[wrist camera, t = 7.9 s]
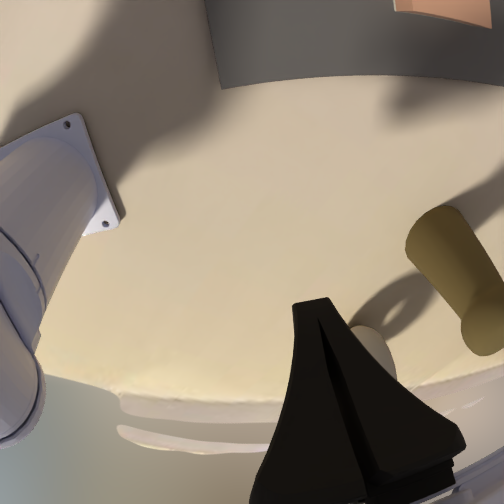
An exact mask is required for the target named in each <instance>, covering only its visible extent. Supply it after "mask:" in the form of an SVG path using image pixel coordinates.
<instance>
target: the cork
mask: <svg viewBox="0 0 504 504" xmlns="http://www.w3.org/2000/svg"><path fill="white" fill-rule="evenodd" d="M405 251H406V254H407V257H408V258H409V259H410V261H411V262H412V263H413V264H414V265H415V266H416V267H417V268H418V269H419V270H420V272H421V273H422V274H423V275H424V276H425V277H426V278H427V279H428V281H429V282H430V283H431V284H432V285H433V286H434V287H435V289H436V290H437V291H438V292H439V293H440V294H441V296H442V297H443V298H444V299H445V300H446V302H447V303H448V304H449V305H450V306H451V308H452V309H453V310H454V311H455V313H456V314H457V315H458V316H459V317H460V319H461V333H462V337H463V340H464V342H465V344H466V345H467V347H468V348H469V349H470V350H471V351H472V352H473V353H474V354H476V355H479V356H488V355H491V354H494V353H496V352H498V351H499V350H501V349H502V348H504V282H503V280H502V278H501V276H500V275H499V273H498V271H497V269H496V268H495V266H494V264H493V263H492V261H491V259H490V257H489V256H488V254H487V253H486V251H485V249H484V248H483V246H482V245H481V243H480V241H479V240H478V238H477V237H476V235H475V234H474V232H473V231H472V229H471V228H470V226H469V225H468V223H467V222H466V220H465V219H464V217H463V216H462V215H461V213H460V212H459V210H457V209H456V208H454V207H452V206H445V205H444V206H440V207H436V208H434V209H432V210H430V211H428V212H426V213H425V214H424V215H423V216H422V217H421V218H420V219H418V220H417V221H416V223H415V224H414V226H413V227H412V229H411V230H410V232H409V234H408V237H407V240H406V247H405Z"/></svg>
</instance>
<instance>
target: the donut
mask: <svg viewBox="0 0 504 504" xmlns="http://www.w3.org/2000/svg"><path fill="white" fill-rule="evenodd" d="M351 331H352V332H353V333H354V334H355V336H356V337H357V338H358V339H359V341H360V342H361V343H362V344H363V346H364V347H365V348H366V349H367V350H368V351H369V353H370V354H371V355H372V356H373V357H374V358H375V359H376V360H377V361H378V362H379V364H380V365H381V366H382V367H383V368H384V369H385V370H386V371H387V372H388V373H389V374H390V375H391V376H393V377H394V378H395V379H396V380H397V375H396V369H395V364H394V361H393V358H392V355H391V352H390V350H389V348H388V346H387V344H386V342H385V340H384V338H383V337H382V336H381V335H380V334H379V333H378V332H377V331H376V330H374V329H373V328H370V327H366V326H363V325H360V326H355V327H352V328H351Z"/></svg>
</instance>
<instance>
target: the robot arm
mask: <svg viewBox="0 0 504 504" xmlns="http://www.w3.org/2000/svg"><path fill="white" fill-rule="evenodd" d="M66 121H68V122H70V125H71V126H70V127H67V126H66ZM104 221H107V222H108V223H109V224H106V223H104ZM119 224H120V217H119V215H118V212H117V210H116V207H115V205H114V202H113V200H112V197H111V195H110V192H109V190H108V187H107V185H106V182H105V179H104V177H103V174H102V171H101V169H100V166H99V163H98V161H97V158H96V155H95V152H94V149H93V146H92V144H91V141H90V138H89V135H88V132H87V129H86V126H85V123H84V119H83V117H82V115H81V114H79V113H73V114H70V115H68V116H66V117H63V118H61V119H58V120H56V121H54V122H52V123H49V124H47V125H45V126H43V127H41V128H38V129H36V130H34V131H32V132H30V133H28V134H26V135H24V136H22V137H20V138H18V139H16V140H14V141H12V142H10V143H8V144H6V145H5V146H3V147H1V148H0V449H3V448H7V447H10V446H13V445H15V444H16V443H19V442H20V441H21V440H23V439H24V438H25V437H27V435H28V434H29V433H30V432H31V431H32V430H33V429H34V427H35V426H36V424H37V422H38V421H39V418H40V416H41V414H42V411H43V407H44V404H45V397H46V383H45V378H44V373H43V370H42V368H41V365H40V363H39V362H38V360H37V358H36V357H35V355H34V354H35V351H36V348H37V345H38V343H39V340H40V337H41V334H40V331H39V326H40V323H41V321H42V319H43V316H44V313H45V311H46V308H47V306H48V304H49V302H50V299H51V297H52V295H53V293H54V290H55V288H56V286H57V284H58V282H59V280H60V277H61V275H62V273H63V271H64V269H65V267H66V265H67V263H68V261H69V259H70V257H71V255H72V253H73V251H74V249H75V248H76V246H77V244H78V242H79V240H80V238H81V236H84V235H89V234H93V233H97V232H101V231H106V230H110V229H114V228H117V227H118V226H119ZM292 312H293V324H294V349H293V359H292V365H291V372H290V378H289V383H288V387H287V392H286V396H285V400H284V404H283V407H282V411H281V414H280V417H279V421H278V424H277V427H276V430H275V432H274V435H273V438H272V440H271V443H270V445H269V448H268V450H267V453H266V455H265V457H264V460H263V462H262V464H261V466H260V468H259V470H258V473H257V475H256V478H255V482H254V485H253V488H252V491H251V495H250V499H249V504H364V503H365V504H420V503H422V502H425V501H427V500H429V499H432V498H434V497H436V496H439V495H441V494H442V493H445V492H447V491H449V490H451V489H453V492H452V494H451V495H449V496H446V497H444V498H441V499H439V500H436V501H434V502H432V503H430V504H504V446H503V447H501V448H500V449H498V450H496V451H495V452H493V453H491V454H490V455H488V456H486V457H484V458H483V459H481V460H479V461H477V462H475V463H473V464H471V465H469V466H468V467H466V468H464V469H462V470H460V471H458V472H455V473H453V471H452V467H453V466H454V462H453V459H452V458H453V457H454V456H456V455H457V454H459V453H460V452H461V451H463V450H465V448H466V443H465V440H464V437H463V435H462V433H461V431H460V430H459V428H458V426H457V425H456V424H455V423H453V422H452V421H450V420H448V419H447V418H445V417H444V416H442V415H440V414H439V413H437V412H436V411H434V410H433V409H432V408H430V407H429V406H427V405H426V404H425V403H423V402H422V401H421V400H420V399H418V398H417V397H416V396H415V395H413V394H412V393H411V392H410V391H408V390H407V389H406V388H405V387H403V386H402V385H401V384H400V383H399V382H398V381H397V380H396V379H395V378H394V377H393V376H391V375H390V374H389V373H388V372H387V371H386V370H385V369H384V368H383V367H382V366H381V365H380V364H379V362H378V361H377V360H376V359H375V358H374V357H373V356H372V355H371V354H370V353H369V351H368V350H367V349H366V348H365V347H364V346H363V344H362V343H361V342H360V341H359V339H358V338H357V337H356V336H355V334H354V333H353V332H352V331H351V329H350V328H349V327H348V325H347V324H346V323H345V321H344V320H343V318H342V317H341V316H340V314H339V313H338V311H337V310H336V308H335V306H334V305H333V303H332V302H331V300H330V299H329V298H328V297H325V298H320V299H315V300H310V301H304V302H299V303H295V304H293V305H292Z"/></svg>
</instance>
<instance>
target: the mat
mask: <svg viewBox="0 0 504 504" xmlns="http://www.w3.org/2000/svg"><path fill="white" fill-rule="evenodd" d="M205 6H206V11H207V16H208V21H209V27H210V32H211V37H212V42H213V48H214V53H215V58H216V63H217V68H218V74H219V79H220V84H221V89H227V88H233V87H239V86H245V85H252V84H259V83H266V82H274V81H282V80H291V79H302V78H314V77H329V76H352V75H397V76H420V77H434V78H445V79H455V80H464V81H471V82H478V83H485V84H491V85H497V86H503V87H504V0H490V10H491V23H492V29H489V28H483V27H477V26H471V25H467V24H463V23H459V22H454V21H450V20H445V19H440V18H435V17H430V16H424V15H418V14H412V13H404V12H396V11H395V10H394V2H393V0H205Z"/></svg>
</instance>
